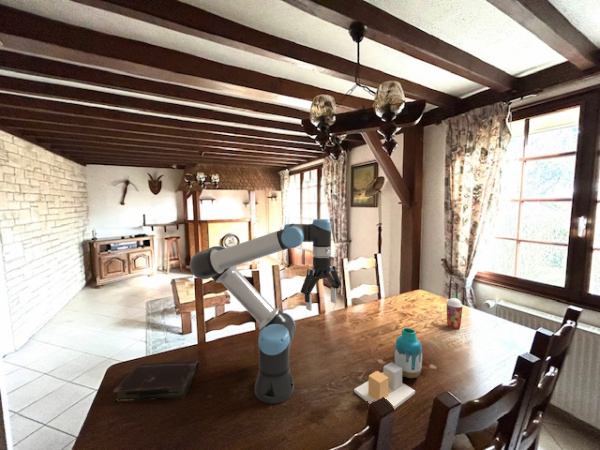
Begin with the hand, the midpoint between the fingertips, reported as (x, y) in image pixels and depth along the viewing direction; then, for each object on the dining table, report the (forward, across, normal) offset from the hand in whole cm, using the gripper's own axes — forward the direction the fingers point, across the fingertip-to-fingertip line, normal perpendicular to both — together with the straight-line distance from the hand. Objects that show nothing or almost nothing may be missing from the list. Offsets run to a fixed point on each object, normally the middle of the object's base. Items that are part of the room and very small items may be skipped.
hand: (321, 305), depth 109 cm
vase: (+29, +28, -23) cm, 46 cm away
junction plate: (+29, +11, -24) cm, 39 cm away
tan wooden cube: (+28, +7, -24) cm, 37 cm away
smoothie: (+29, +90, -14) cm, 96 cm away
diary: (+29, -58, +31) cm, 72 cm away
